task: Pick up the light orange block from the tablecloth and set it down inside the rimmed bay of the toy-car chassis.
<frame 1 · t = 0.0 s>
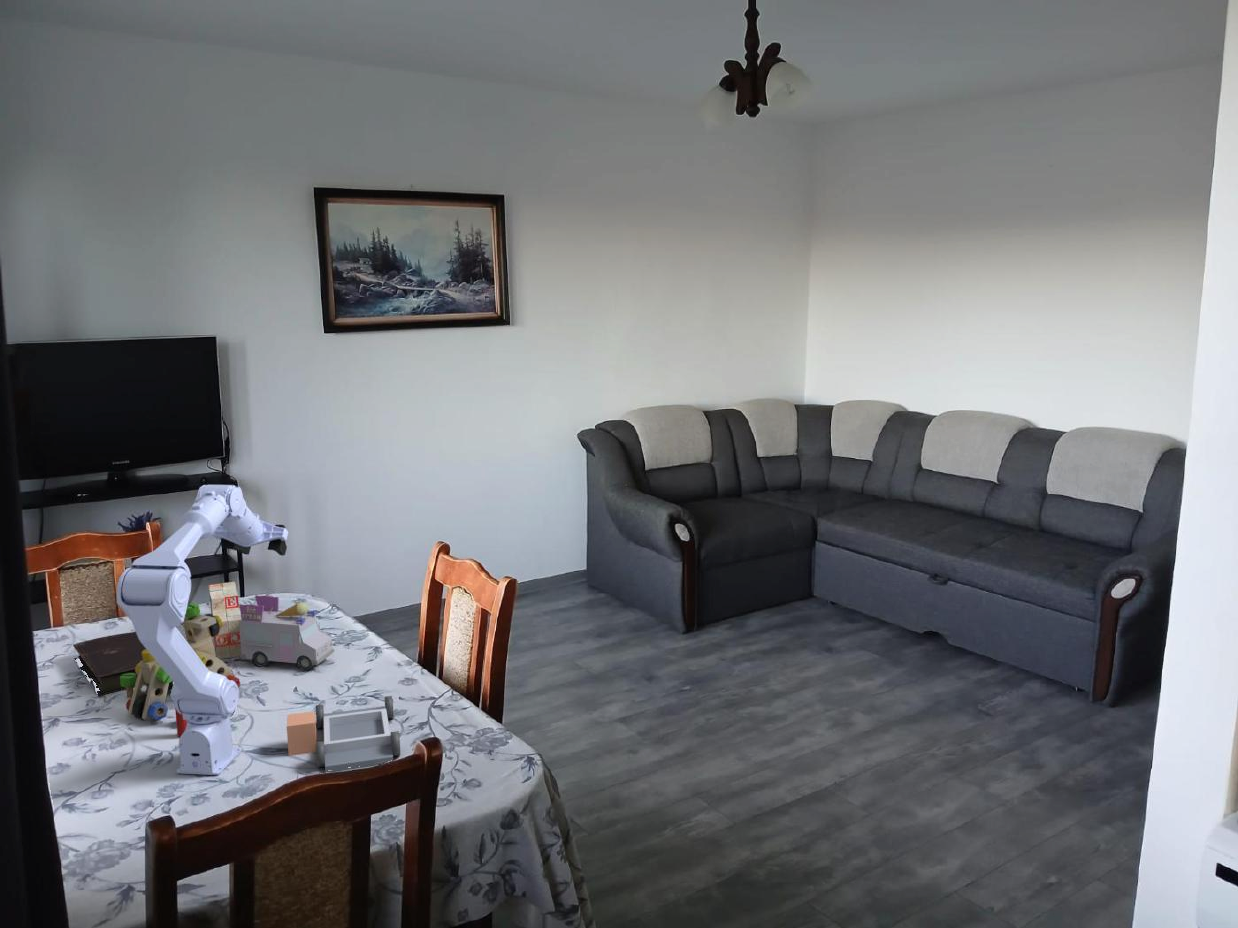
hand: (266, 550, 195), 32 cm above the table, tool tilted 50°, fingers open, 7 cm apart
toy construction set: (185, 710, 195), on the table
toy vehicle: (288, 663, 219), on the table
stack of blocks: (228, 643, 231), on the table
chassis: (357, 739, 182), on the table
light orange block: (302, 747, 179), on the table
diary: (127, 670, 215), on the table
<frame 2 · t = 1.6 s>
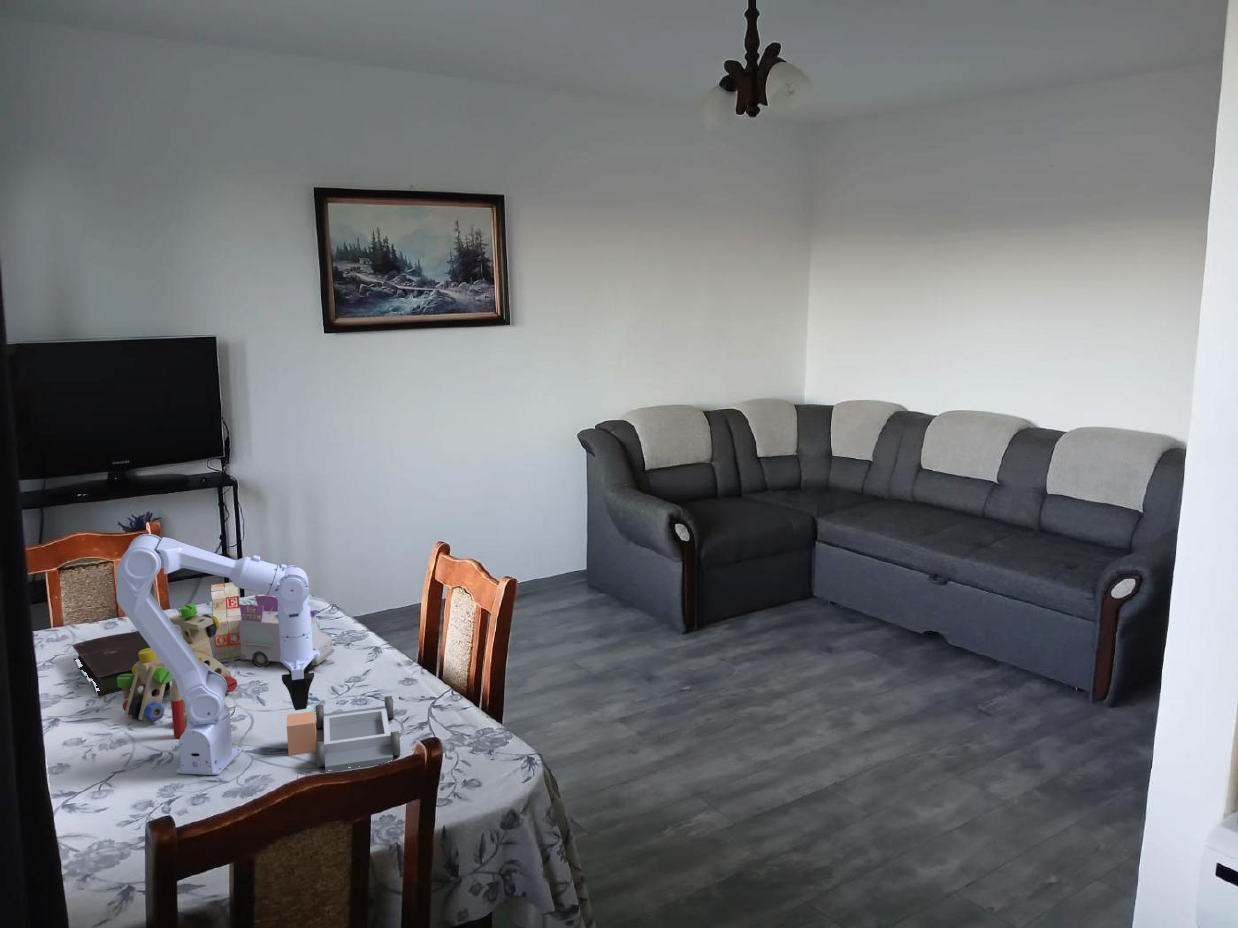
hand: (300, 700, 177), 10 cm above the table, tool pointing down, fingers open, 7 cm apart
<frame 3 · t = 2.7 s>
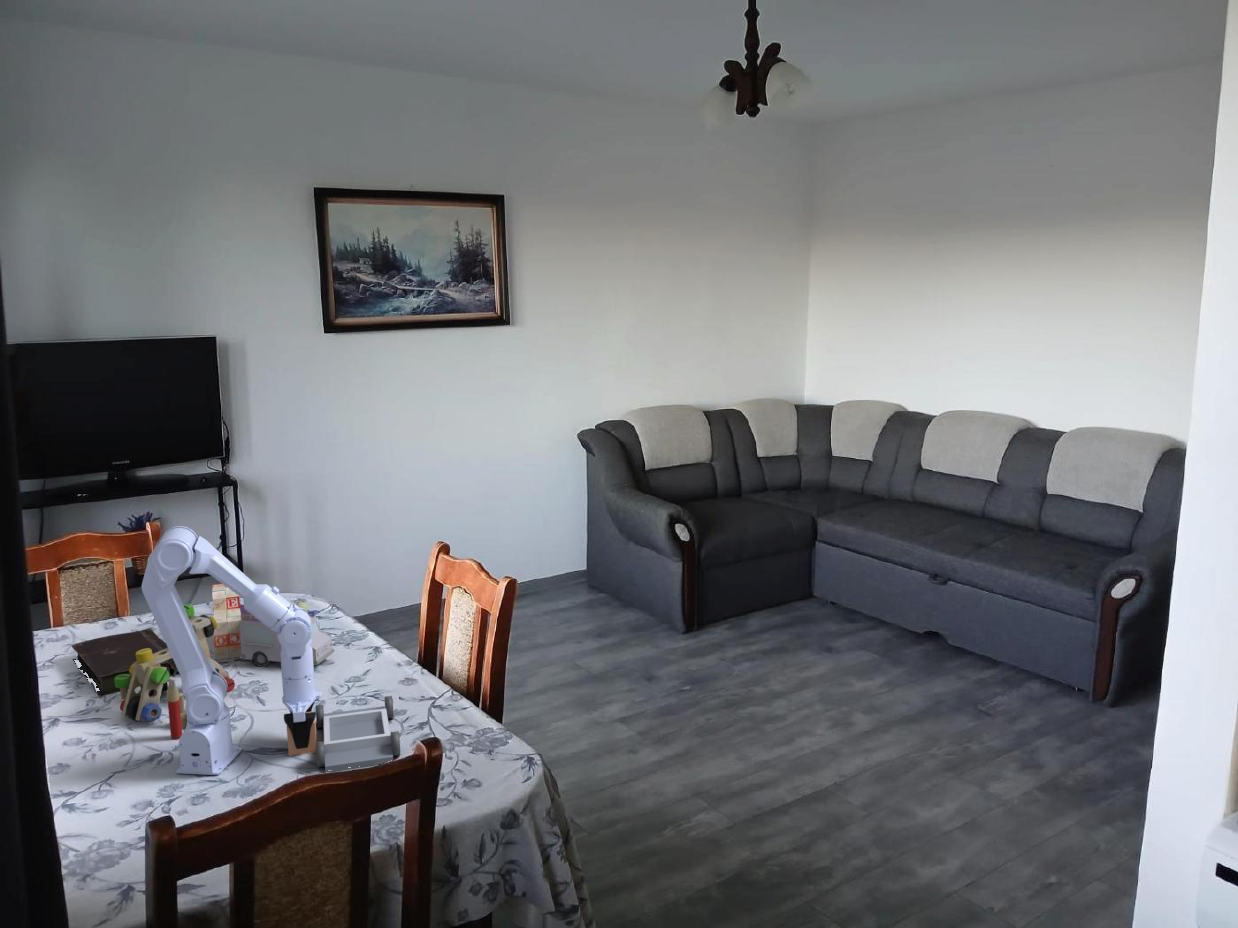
hand: (302, 740, 179), 1 cm above the table, tool pointing down, fingers closed on light orange block, 5 cm apart
light orange block: (302, 747, 179), on the table, touching gripper
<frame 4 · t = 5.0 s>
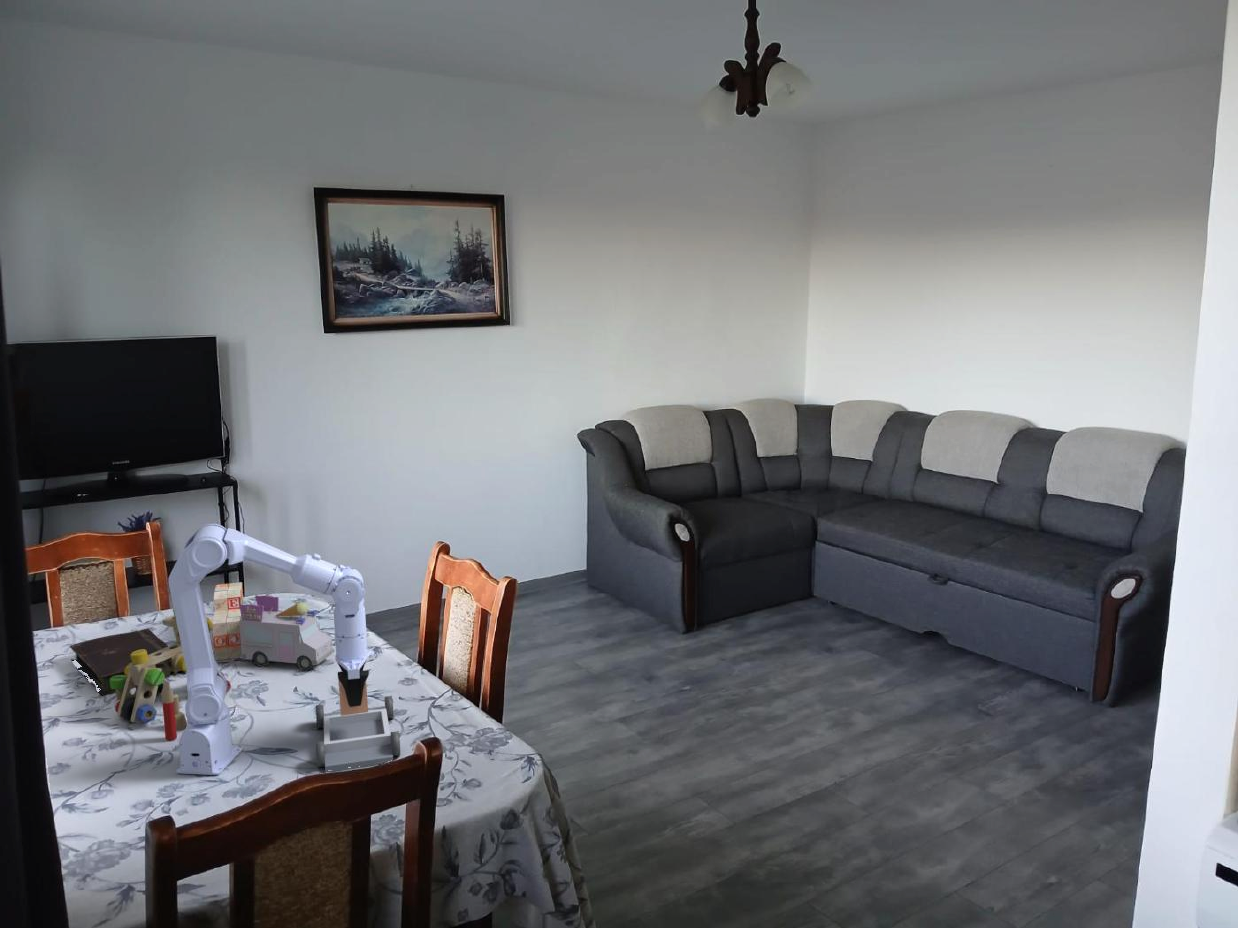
hand: (354, 699, 180), 8 cm above the table, tool pointing down, fingers closed on light orange block, 5 cm apart
light orange block: (354, 708, 181), point 7 cm above the table, touching gripper
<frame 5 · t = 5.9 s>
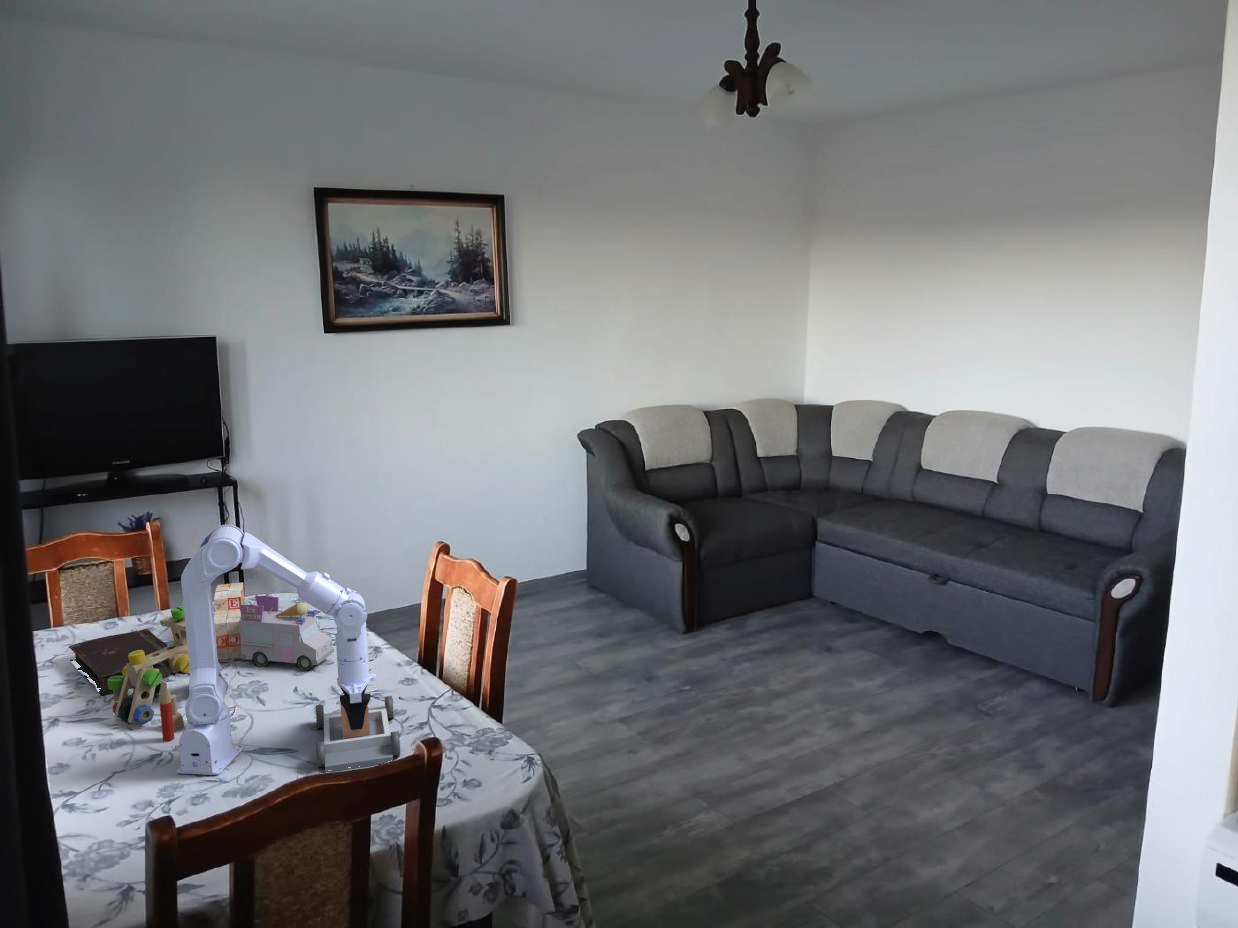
hand: (356, 722, 181), 4 cm above the table, tool pointing down, fingers closed on light orange block, 5 cm apart
light orange block: (355, 730, 182), point 2 cm above the table, touching gripper
when the fingers open (4 cm above the table, at t = 6.8 s): light orange block stays where it is, resting on chassis.
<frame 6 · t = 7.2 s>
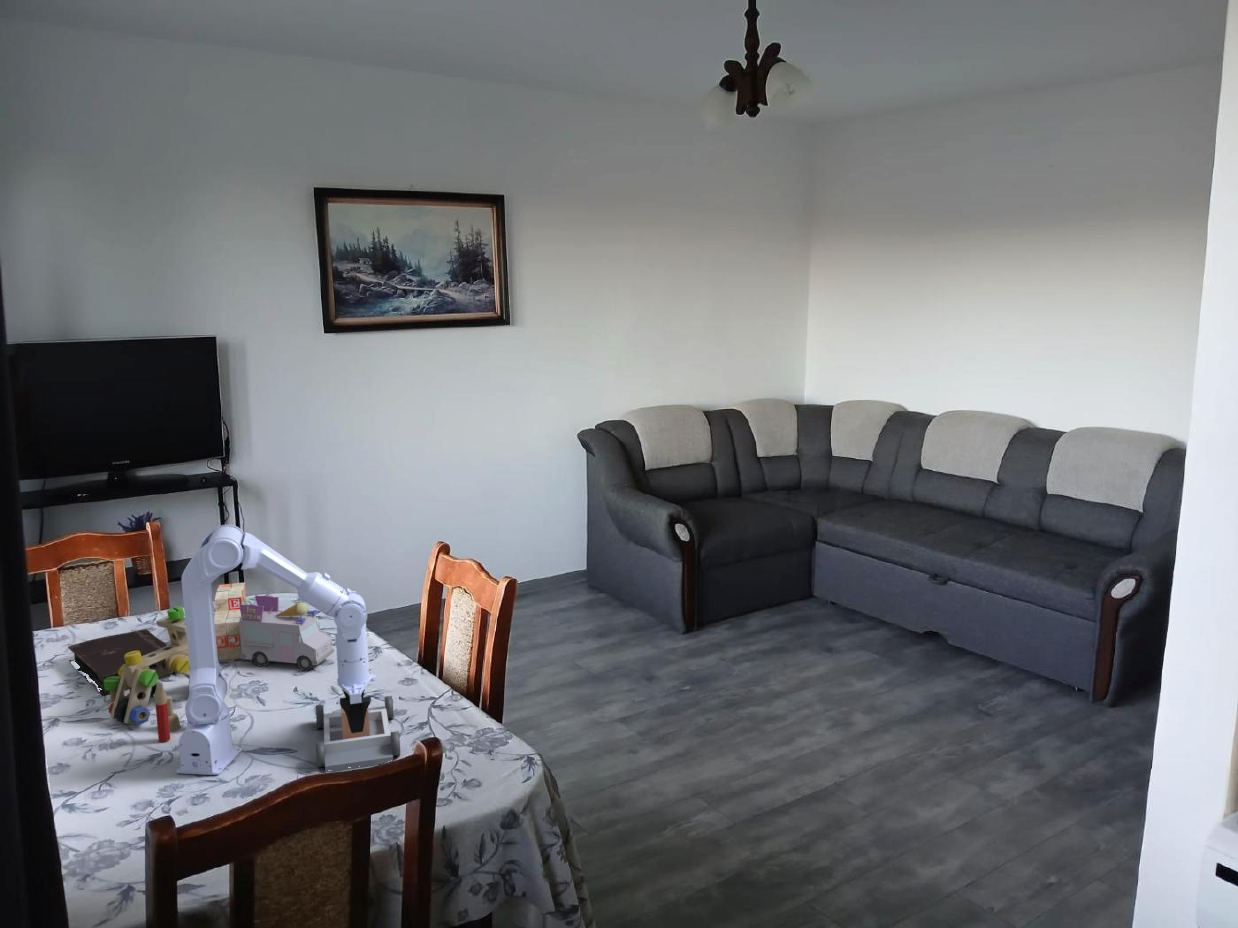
hand: (356, 722, 181), 4 cm above the table, tool pointing down, fingers open, 7 cm apart
light orange block: (356, 734, 182), point 1 cm above the table, touching chassis
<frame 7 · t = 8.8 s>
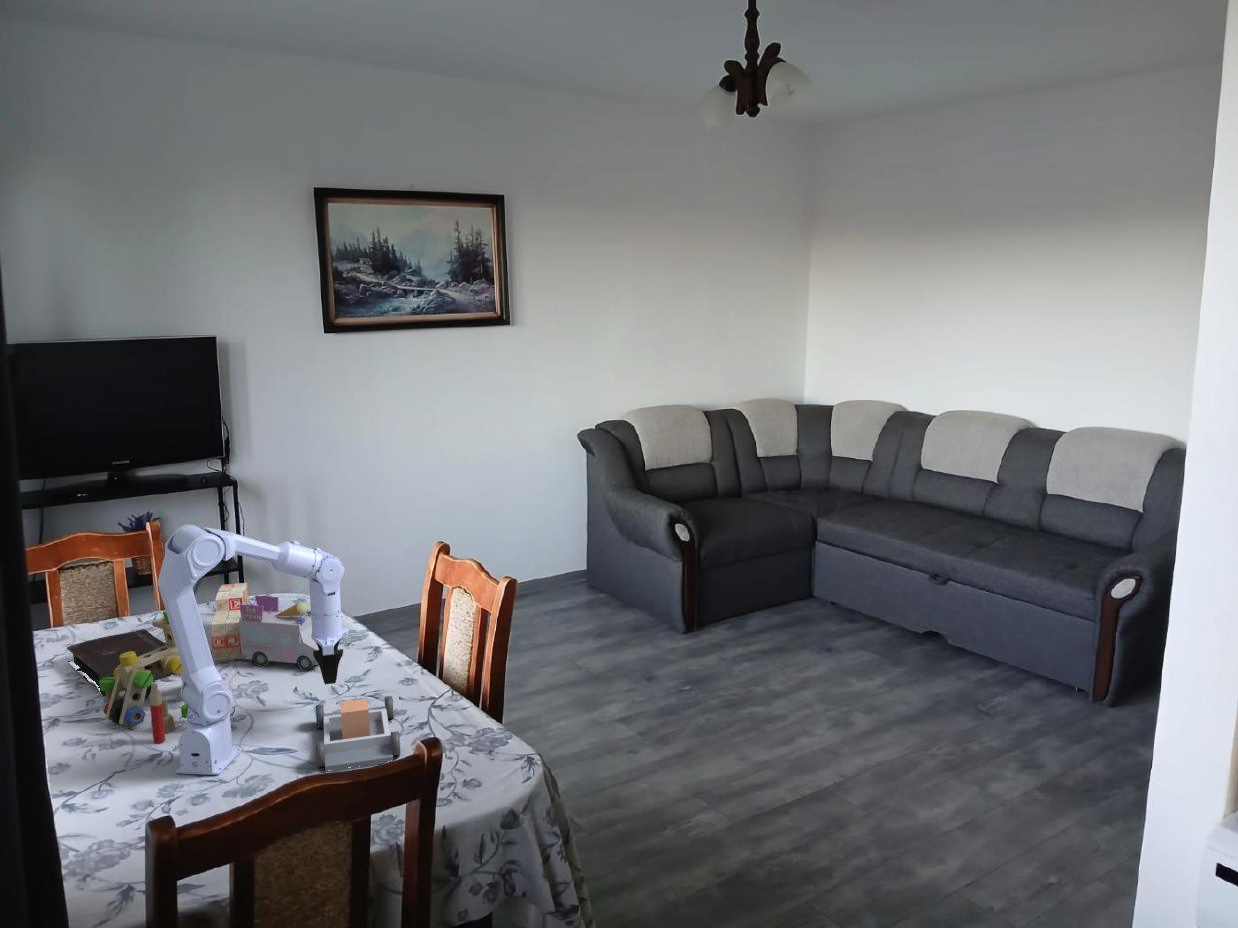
hand: (329, 675, 189), 9 cm above the table, tool pointing down, fingers open, 7 cm apart
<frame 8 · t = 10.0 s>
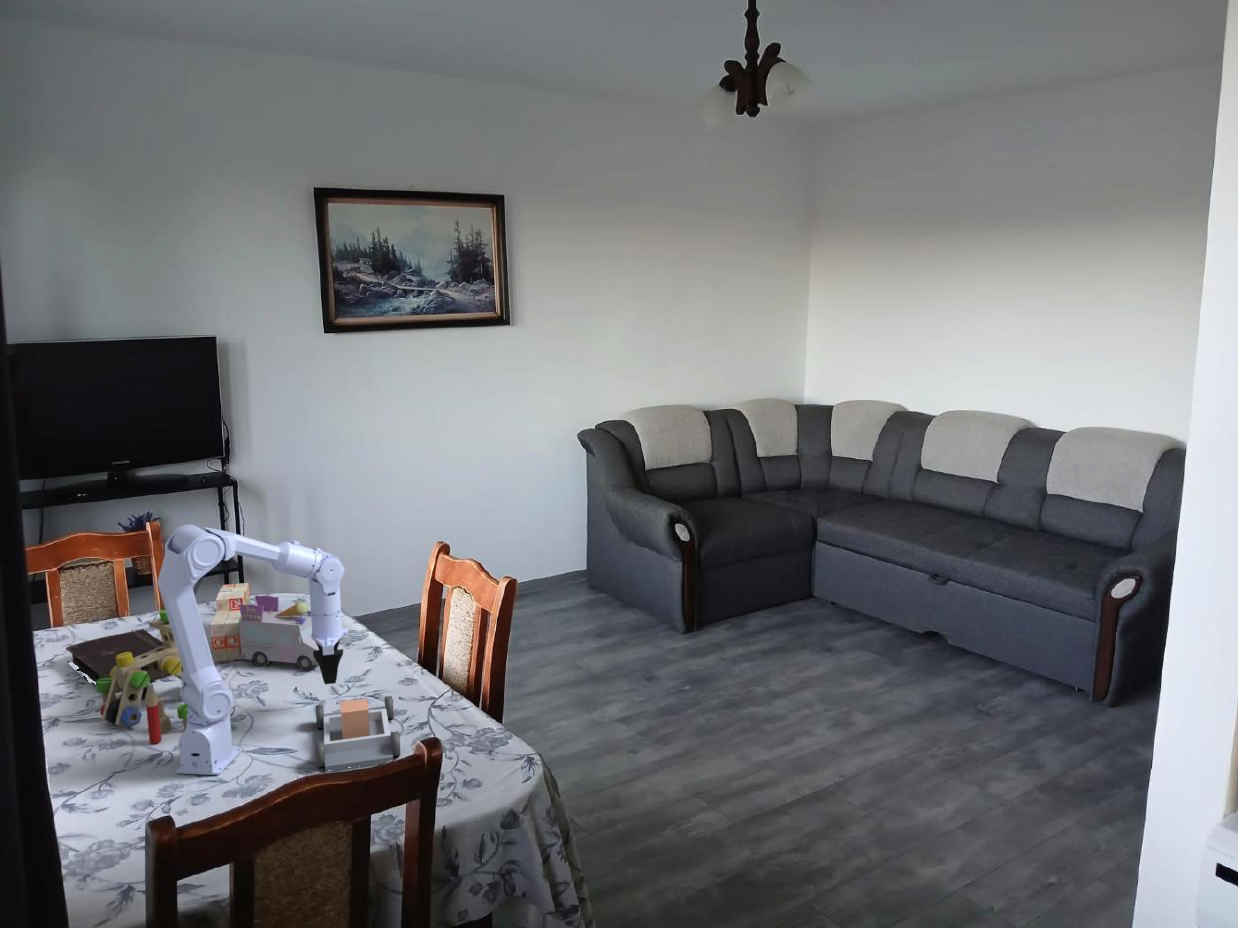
hand: (329, 675, 189), 9 cm above the table, tool pointing down, fingers open, 7 cm apart
at the end: light orange block 0.2 cm off-centre on the chassis, point 1.2 cm above the chassis's base; light orange block tilted 0°; the gripper is holding nothing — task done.
